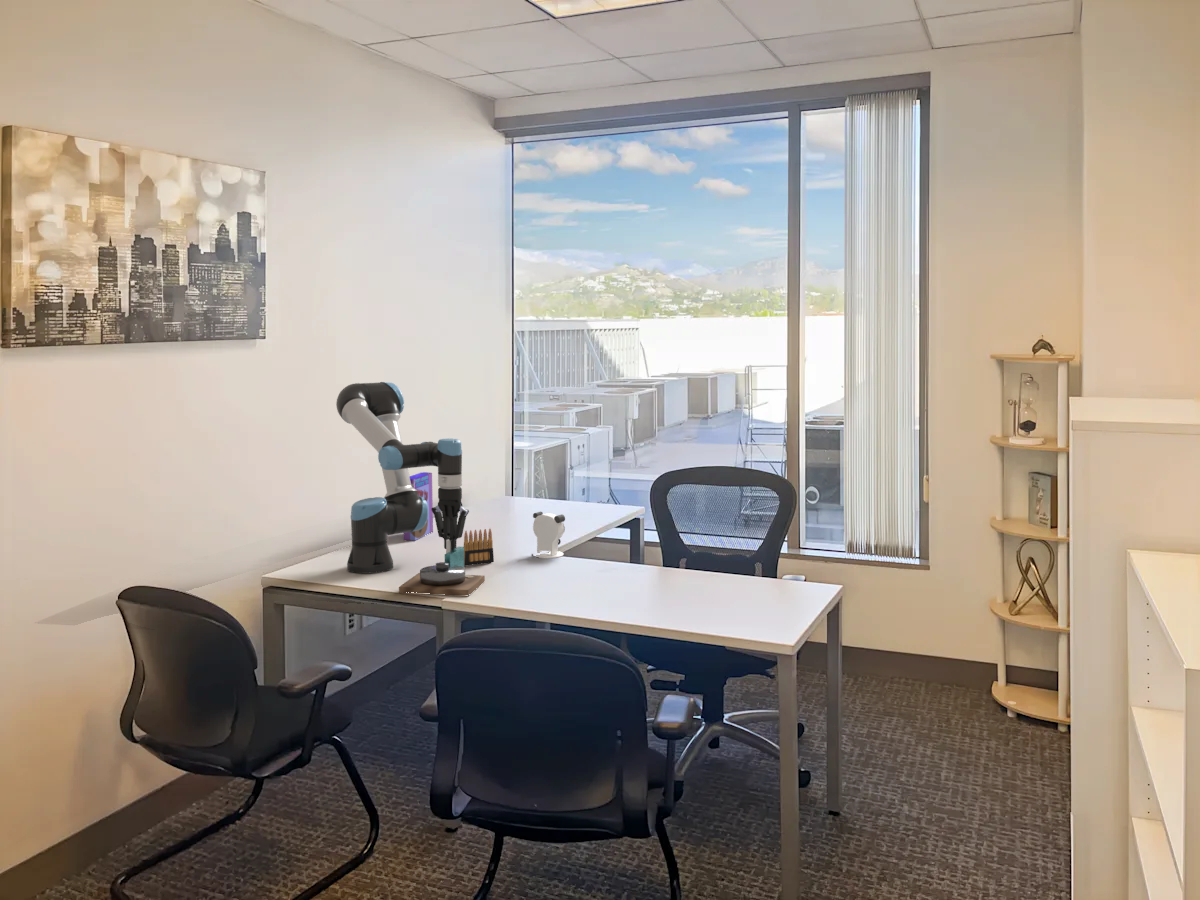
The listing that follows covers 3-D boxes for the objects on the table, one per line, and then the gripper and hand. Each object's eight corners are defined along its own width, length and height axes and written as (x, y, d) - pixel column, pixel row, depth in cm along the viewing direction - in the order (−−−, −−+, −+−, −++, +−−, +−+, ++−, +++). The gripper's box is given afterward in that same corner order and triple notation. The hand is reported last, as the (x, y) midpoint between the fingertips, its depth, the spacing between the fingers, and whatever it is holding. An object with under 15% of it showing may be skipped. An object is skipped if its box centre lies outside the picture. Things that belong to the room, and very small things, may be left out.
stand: (399, 593, 307) (398, 586, 307) (418, 578, 325) (418, 572, 324) (468, 596, 303) (468, 589, 303) (484, 581, 321) (484, 574, 321)
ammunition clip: (464, 565, 343) (464, 531, 341) (462, 564, 344) (462, 530, 343) (493, 562, 348) (493, 528, 346) (492, 561, 349) (491, 527, 348)
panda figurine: (571, 554, 361) (571, 512, 359) (553, 560, 351) (552, 517, 350) (544, 550, 367) (543, 509, 365) (525, 555, 358) (525, 514, 356)
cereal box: (415, 541, 382) (413, 478, 379) (403, 540, 383) (402, 478, 380) (433, 532, 399) (432, 472, 396) (421, 531, 400) (420, 472, 397)
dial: (455, 586, 305) (454, 563, 304) (412, 583, 309) (412, 561, 308) (481, 568, 328) (481, 547, 327) (441, 566, 331) (441, 545, 330)
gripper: (426, 487, 321) (426, 559, 323) (460, 490, 316) (461, 563, 318) (439, 484, 328) (439, 555, 330) (473, 487, 322) (473, 558, 325)
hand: (450, 559), depth 324 cm, fingers closed
